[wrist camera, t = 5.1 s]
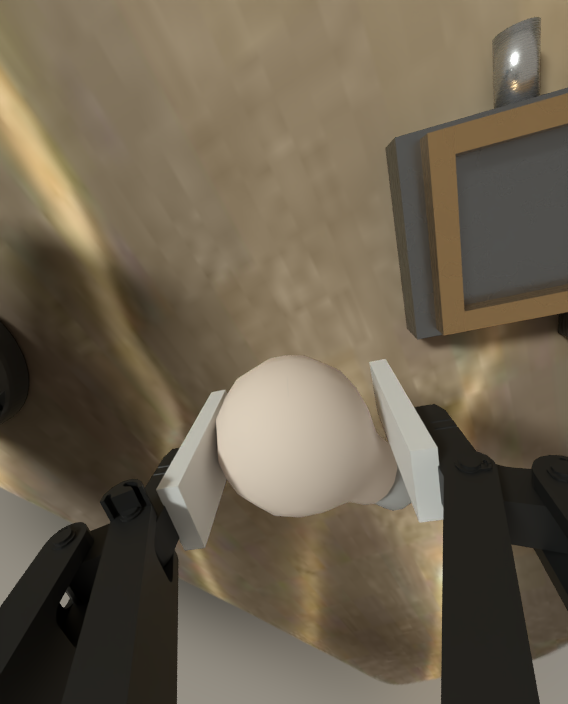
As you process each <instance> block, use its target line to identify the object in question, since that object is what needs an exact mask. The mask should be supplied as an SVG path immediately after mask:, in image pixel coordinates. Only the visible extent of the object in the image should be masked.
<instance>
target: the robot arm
mask: <svg viewBox="0 0 568 704" xmlns="http://www.w3.org/2000/svg"><path fill="white" fill-rule="evenodd" d="M369 364H370V370H371V376H372V382H373V388H374V394H375V400H376V406H377V412H378V415H379V417H380V420H381V423H382V425H383V428H384V430H385V433H386V436H387V438H388V441H389V444H390V446H391V449H392V452H393V454H394V457H395V460H396V462H397V465H398V468H399V470H400V473H401V475H402V478H403V481H404V483H405V486H406V489H407V491H408V494H409V497H410V499H411V502H412V505H413V507H414V510H415V513H416V515H417V518H418V520H419V522H427V521H435V520H443V589H442V675H441V704H540V702H539V696H538V691H537V685H536V680H535V674H534V668H533V663H532V657H531V652H530V646H529V641H528V635H527V630H526V624H525V619H524V613H523V607H522V602H521V596H520V591H519V585H518V580H517V574H516V569H515V563H514V558H513V552H512V546H511V544H513V545H519V546H525V547H530V548H534V550H535V552H536V554H537V555H538V557H539V559H540V561H541V563H542V565H543V566H544V568H545V570H546V572H547V574H548V576H549V577H550V579H551V581H552V583H553V585H554V587H555V588H556V590H557V592H558V594H559V596H560V598H561V599H562V601H563V603H564V605H565V607H566V609H567V610H568V457H565V456H558V455H548V456H543V457H539V458H538V459H536V460H535V461H534V462H533V465H532V469H523V468H511V467H504V466H500V465H497V464H495V462H494V461H493V460H492V459H491V458H490V457H488V456H487V455H485V454H482V453H480V452H476V450H475V449H474V448H473V446H472V445H471V444H470V442H469V441H468V440H467V438H466V437H465V436H464V434H463V433H462V432H461V430H460V429H459V428H458V427H457V425H456V424H455V422H454V421H453V420H452V418H451V417H450V416H449V414H448V413H447V412H446V410H444V409H442V408H441V407H439V406H437V405H435V404H432V405H426V406H420V407H413V405H412V403H411V401H410V400H409V398H408V396H407V395H406V393H405V391H404V390H403V388H402V386H401V384H400V383H399V381H398V379H397V378H396V376H395V374H394V373H393V371H392V369H391V367H390V366H389V364H388V362H387V361H386V359H383V360H378V361H373V362H369ZM28 387H29V378H28V371H27V366H26V363H25V360H24V357H23V355H22V352H21V350H20V348H19V346H18V345H17V343H16V341H15V340H14V338H13V337H12V335H11V334H10V333H9V331H8V330H7V329H6V328H5V326H4V325H3V324H2V323H1V322H0V424H1V423H3V422H5V421H6V420H8V419H9V418H11V417H12V416H14V415H15V414H16V413H17V412H18V411H19V410H20V409H21V407H22V406H23V404H24V402H25V400H26V397H27V393H28ZM226 396H227V392H226V390H221V391H216V392H211V394H210V396H209V398H208V399H207V401H206V403H205V405H204V406H203V408H202V410H201V412H200V413H199V415H198V417H197V419H196V420H195V422H194V424H193V426H192V427H191V429H190V431H189V433H188V434H187V436H186V438H185V440H184V441H183V443H182V445H181V447H180V448H176V449H172V450H171V451H170V452H169V453H168V454H167V455H166V456H165V457H164V458H163V459H162V461H161V463H160V464H159V466H158V468H157V469H156V471H155V472H154V476H152V477H151V479H150V481H149V482H148V484H147V485H146V487H145V488H144V486H143V484H142V482H141V481H140V480H138V479H131V480H127V481H124V482H122V483H120V484H118V485H116V486H114V487H113V488H112V489H110V490H109V491H108V492H107V493H106V494H105V495H104V496H103V498H102V499H101V501H100V503H101V505H102V507H103V509H104V510H105V512H106V514H107V516H108V518H109V519H110V521H111V522H110V524H108V525H105V526H102V527H100V528H97V529H95V530H92V531H90V530H89V529H88V527H87V525H86V524H84V523H83V522H78V523H73V524H71V525H68V526H66V527H64V528H62V529H61V530H59V531H58V532H57V533H56V534H54V535H53V536H52V537H51V538H50V539H49V540H48V541H47V542H46V544H45V545H44V546H43V548H42V549H41V550H40V552H39V553H38V555H37V556H36V557H35V559H34V560H33V562H32V563H31V564H30V566H29V567H28V569H27V570H26V571H25V573H24V574H23V576H22V577H21V579H20V580H19V581H18V583H17V584H16V585H15V587H14V588H13V590H12V591H11V593H10V594H9V595H8V597H7V598H6V600H5V601H4V602H3V604H2V605H1V607H0V704H177V640H178V637H177V636H178V635H177V633H178V629H177V628H178V557H177V554H176V552H175V550H174V549H175V547H176V545H177V542H178V540H180V542H181V544H182V546H183V548H184V550H193V549H201V548H205V547H206V544H207V540H208V537H209V534H210V531H211V528H212V525H213V521H214V518H215V515H216V512H217V509H218V505H219V502H220V499H221V496H222V493H223V490H224V486H225V483H226V480H227V479H226V477H225V475H224V473H223V470H222V468H221V466H220V464H219V462H218V449H217V429H216V418H217V416H218V414H219V411H220V409H221V406H222V404H223V402H224V399H225V397H226ZM65 592H66V593H67V594H68V596H69V597H70V600H69V601H68V603H67V605H66V606H65V607H64V608H63V607H62V606H61V604H60V603H59V602H60V601H61V599H62V597H63V595H64V593H65Z"/></svg>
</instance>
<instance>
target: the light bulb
mask: <svg viewBox="0 0 568 704" xmlns="http://www.w3.org/2000/svg"><path fill="white" fill-rule="evenodd" d="M216 429H217V449H218V462H219V464H220V466H221V468H222V470H223V473H224V475H225V477H226V479H227V480H228V482H229V483H230V484H231V486H232V487H233V488H234V490H235V491H236V493H237V494H238V495H240V496H241V497H243V498H245V499H246V500H248V501H249V502H251V503H253V504H254V505H256V506H257V507H259V508H261V509H263V510H265V511H267V512H269V513H270V514H272V515H274V516H286V517H304V516H309V515H314V514H319V513H323V512H326V511H328V510H331V509H333V508H335V507H338V506H340V505H342V504H345V503H348V502H353V503H358V504H363V505H368V504H373V503H374V504H376V505H379V506H381V507H383V508H386V509H389V510H393V511H394V510H399V509H403V508H405V507H406V506H407V505H409V504H410V503H411V499H410V497H409V494H408V491H407V489H406V486H405V483H404V481H403V478H402V475H401V473H400V470H399V468H398V465H397V462H396V460H395V457H394V454H393V452H392V449H391V446H390V444H389V443H388V442H387V441H385V440H384V439H383V438H382V437H381V436H380V435H378V433H377V431H376V429H375V427H374V424H373V421H372V418H371V415H370V413H369V410H368V407H367V405H366V404H365V402H364V400H363V398H362V397H361V395H360V393H359V391H358V390H357V388H356V387H355V386H354V385H353V384H352V383H351V381H350V380H349V379H348V378H347V377H346V376H345V375H344V374H343V373H342V372H341V371H340V370H338V369H336V368H334V367H331V366H329V365H327V364H325V363H322V362H320V361H317V360H315V359H312V358H310V357H307V356H305V355H285V356H280V357H275V358H270V359H268V360H266V361H265V362H263V363H262V364H260V365H258V366H257V367H255V368H254V369H252V370H250V371H249V372H247V373H246V374H244V375H242V376H241V377H239V378H238V379H237V380H236V381H235V383H234V385H233V386H232V388H231V389H230V391H229V393H228V394H227V396H226V397H225V399H224V402H223V404H222V406H221V409H220V411H219V414H218V416H217V418H216Z"/></svg>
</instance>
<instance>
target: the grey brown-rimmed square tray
mask: <svg viewBox="0 0 568 704" xmlns="http://www.w3.org/2000/svg"><path fill="white" fill-rule="evenodd" d="M540 38H541V18H540V17H534V18H530V19H527V20H524V21H521V22H519V23H517V24H515V25H513V26H511V27H509V28H507V29H505V30H504V31H502V32H501V33H499V34H498V35H497V36H496V37H495V38H494V39H493V41H492V45H493V89H494V109H492V110H489V111H485V112H482V113H479V114H475V115H472V116H468V117H465V118H461V119H458V120H454V121H451V122H447V123H444V124H440V125H437V126H434V127H430V128H427V129H423V130H420V131H416V132H413V133H409V134H406V135H402V136H399V137H395V138H394V139H393V140H392V142H391V143H390V144H389V145H388V146H387V147H386V156H387V164H388V173H389V181H390V189H391V198H392V206H393V215H394V223H395V231H396V240H397V248H398V256H399V265H400V273H401V281H402V290H403V298H404V307H405V315H406V323H407V329H408V330H409V331H410V332H411V333H412V334H413V335H414V336H415V338H416V339H422V338H427V337H433V336H438V335H449V334H455V333H460V332H465V331H470V330H476V329H481V328H486V327H492V326H497V325H502V324H507V323H513V322H518V321H523V320H528V319H534V318H539V317H544V316H550V315H555V314H559V327H558V333H559V334H561V335H564V336H566V337H568V88H565V89H562V90H558V91H555V92H551V93H548V94H544V95H541V96H540Z"/></svg>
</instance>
